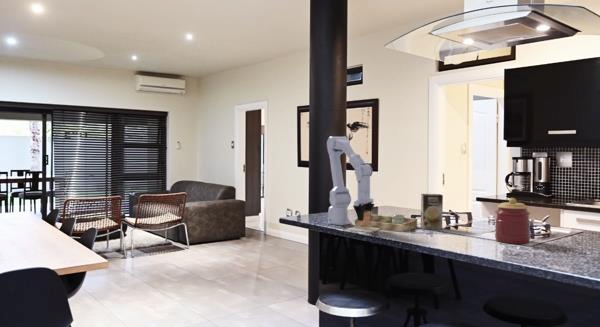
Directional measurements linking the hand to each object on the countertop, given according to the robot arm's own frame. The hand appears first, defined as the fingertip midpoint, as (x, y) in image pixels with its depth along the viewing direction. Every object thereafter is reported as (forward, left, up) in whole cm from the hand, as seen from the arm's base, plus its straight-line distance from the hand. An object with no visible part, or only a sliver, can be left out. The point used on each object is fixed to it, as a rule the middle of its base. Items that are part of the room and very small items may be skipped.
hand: (363, 219), depth 216 cm
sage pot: (+11, +13, -5) cm, 18 cm away
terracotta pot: (0, +1, -2) cm, 2 cm away
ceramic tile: (0, 0, -5) cm, 5 cm away
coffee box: (+24, +22, -5) cm, 33 cm away
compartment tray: (+4, +13, -5) cm, 15 cm away
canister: (+62, +12, -5) cm, 63 cm away
